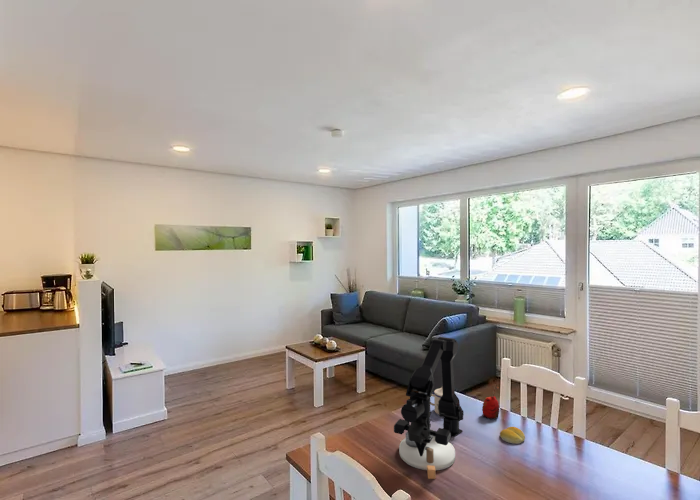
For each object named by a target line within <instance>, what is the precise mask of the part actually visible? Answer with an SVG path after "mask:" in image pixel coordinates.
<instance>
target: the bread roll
mask: <svg viewBox="0 0 700 500" xmlns="http://www.w3.org/2000/svg"><path fill="white" fill-rule="evenodd" d="M499 437H500V438H501V439H502V441H504V442H505V443H509V444H515V445H516V444H517V445H519V444H521V443H523V442H524V441H525V440H526V435H525V433H524V432H523V430H522V429H520V428H518V427H515V426H508V427H506V428H505V429H502V430H501V431H500V432H499Z"/></svg>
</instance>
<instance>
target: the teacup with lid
mask: <svg viewBox="0 0 700 500" xmlns="http://www.w3.org/2000/svg"><path fill="white" fill-rule="evenodd" d="M442 395H443V389H442V387H440V388H436V389H435V390H433V393H432V395H431V397H433V398H434V402H431V401H430V406H432V407H433V406H434V412H435V413H436V414H437V415H439V410H438V404H439V403H438V402H439V400H440V398H441V397H442Z"/></svg>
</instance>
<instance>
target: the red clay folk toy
mask: <svg viewBox="0 0 700 500" xmlns="http://www.w3.org/2000/svg"><path fill="white" fill-rule="evenodd" d="M495 390H499V386H498V384H495V386H493V391H492V396H488V397H485V398H484V401H483V403H482V409H481V411H482V417H483V418H486V419H489V420H497V419H499V415H500V405H499V401H498V400H497V397H496V396H495Z"/></svg>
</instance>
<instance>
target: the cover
mask: <svg viewBox="0 0 700 500" xmlns="http://www.w3.org/2000/svg"><path fill="white" fill-rule="evenodd" d="M404 435H405V438H406V444H407V445H408V446H410V447H414V448H417V445H416V443H415V441H410V440H409V437H408V431H407V430H406V431H405V434H404Z"/></svg>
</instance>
